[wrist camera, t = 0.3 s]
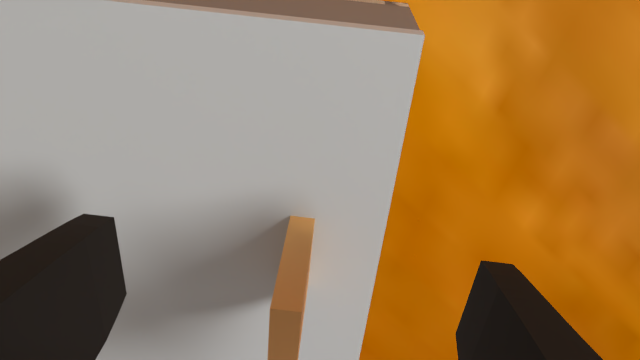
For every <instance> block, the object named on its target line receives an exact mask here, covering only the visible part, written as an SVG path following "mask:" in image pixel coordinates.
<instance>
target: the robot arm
mask: <svg viewBox="0 0 640 360" xmlns="http://www.w3.org/2000/svg"><path fill="white" fill-rule="evenodd" d="M126 295H127V292H126V286H125V280H124V274H123V268H122V262H121V256H120V250H119V244H118V238H117V232H116V226H115V220H114V217H108V216H100V215H91V214H82V215H80V216H78V217H76V218H74V219H72V220H70V221H68V222H66V223H64V224H62V225H61V226H59V227H57V228H55V229H53V230H52V231H50V232H48V233H46V234H45V235H43V236H41V237H39V238H38V239H36V240H34V241H32V242H31V243H29V244H27V245H25V246H24V247H22V248H20V249H18V250H17V251H15V252H13V253H11V254H10V255H8V256H6V257H4V258H2V259H1V260H0V360H95V359H96V358H97V356H98V354H99V353H100V351H101V349H102V347H103V346H104V344H105V342H106V340H107V338H108V336H109V334H110V332H111V330H112V327H113V325H114V323H115V321H116V318H117V316H118V314H119V311H120V309H121V307H122V304H123V302H124V299H125V297H126ZM456 341H457V351H458V360H603V359H602V358H601V357H600V356H599V355H598V354H597V353H596V352H595V351H594V350H593V349H592V348H591V347H590V346H589V345H588V344H587V343H586V342H585V341H584V340H583V339H582V338H581V337H580V335H579V334H578V333H577V332H576V331H575V330H574V329H573V328H572V327H571V326H570V325H569V324H568V323H567V322H566V321H565V319H564V318H563V317H562V316H561V315H560V314H559V313H558V312H557V311H556V310H555V309H554V308H553V307H552V305H551V304H550V303H549V302H548V301H547V300H546V299H545V298H544V297H543V296H542V295H541V293H540V292H539V291H538V290H537V289H536V288H535V287H534V286H533V285H532V284H531V283H530V282H529V280H528V279H527V278H526V277H525V276H524V275H523V274H522V273H521V272H520V271H519V270H518V269H517V268H516V267H515V266H514V265H513V264H505V263H497V262H489V261H481V263H480V266H479V268H478V271H477V274H476V277H475V280H474V283H473V286H472V289H471V291H470V294H469V297H468V300H467V303H466V306H465V309H464V311H463V314H462V317H461V320H460V323H459V326H458V329H457V331H456Z"/></svg>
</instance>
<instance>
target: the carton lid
mask: <svg viewBox="0 0 640 360" xmlns="http://www.w3.org/2000/svg"><path fill="white" fill-rule="evenodd" d="M424 37H425V35H424V33H423V31H421V30H412V29H403V28H394V27H385V26H376V25H366V24H357V23H348V22H339V21H330V20H321V19H311V18H302V17H293V16H284V15H275V14H266V13H257V12H247V11H238V10H229V9H220V8H211V7H202V6H192V5H183V4H174V3H165V2H156V1H147V0H0V260H1V259H2V258H4V257H6V256H8V255H10V254H11V253H13V252H15V251H17V250H18V249H20V248H22V247H24V246H25V245H27V244H29V243H31V242H32V241H34V240H36V239H38V238H39V237H41V236H43V235H45V234H46V233H48V232H50V231H52V230H53V229H55V228H57V227H59V226H61V225H62V224H64V223H66V222H68V221H70V220H72V219H74V218H76V217H78V216H80V215H82V214H91V215H100V216H108V217H114V220H115V226H116V232H117V238H118V244H119V250H120V256H121V262H122V268H123V274H124V280H125V286H126V292H127V295H126V297H125V299H124V302H123V304H122V307H121V309H120V311H119V314H118V316H117V318H116V321H115V323H114V325H113V327H112V330H111V332H110V334H109V336H108V338H107V340H106V342H105V344H104V346H103V347H102V349H101V351H100V353H99V354H98V356H97V358H96V359H95V360H359V356H360V351H361V346H362V341H363V336H364V331H365V327H366V322H367V317H368V312H369V307H370V302H371V297H372V292H373V287H374V282H375V277H376V273H377V268H378V263H379V258H380V253H381V248H382V243H383V238H384V233H385V228H386V224H387V219H388V214H389V209H390V204H391V199H392V194H393V189H394V184H395V179H396V174H397V170H398V165H399V160H400V155H401V150H402V145H403V140H404V135H405V130H406V125H407V120H408V116H409V111H410V106H411V101H412V96H413V91H414V86H415V81H416V76H417V71H418V66H419V62H420V57H421V52H422V47H423V42H424Z"/></svg>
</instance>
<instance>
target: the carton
mask: <svg viewBox="0 0 640 360" xmlns="http://www.w3.org/2000/svg"><path fill="white" fill-rule="evenodd" d="M147 1H156V2H165V3H174V4H183V5H192V6H202V7H211V8H220V9H229V10H238V11H247V12H257V13H266V14H275V15H284V16H293V17H302V18H311V19H321V20H330V21H339V22H348V23H357V24H366V25H376V26H385V27H394V28H403V29H412V30H420V29H419V27H418V25H417V23H416V21H415V19H414V16H413V14H412V12H411V10H410V8H409V5H408V4H407V3H398V2H389V1H380V0H147Z"/></svg>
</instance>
